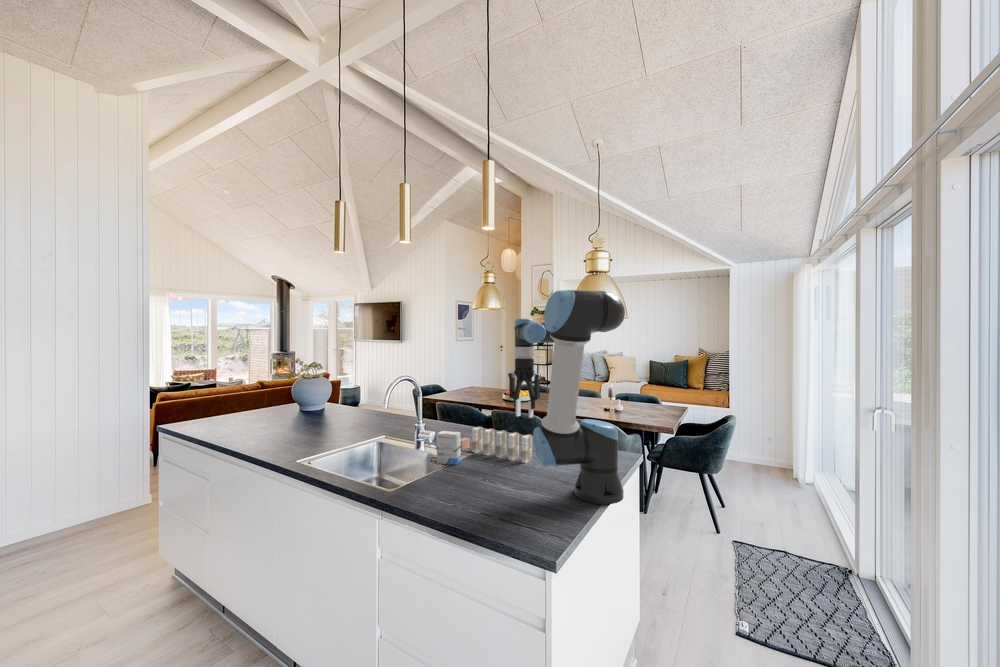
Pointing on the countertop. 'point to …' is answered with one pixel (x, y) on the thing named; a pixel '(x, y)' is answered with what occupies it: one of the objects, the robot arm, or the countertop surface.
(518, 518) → the countertop surface
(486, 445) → the domino
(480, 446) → the domino
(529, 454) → the domino
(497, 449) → the domino
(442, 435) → the ink box
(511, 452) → the domino
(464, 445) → the end stop
